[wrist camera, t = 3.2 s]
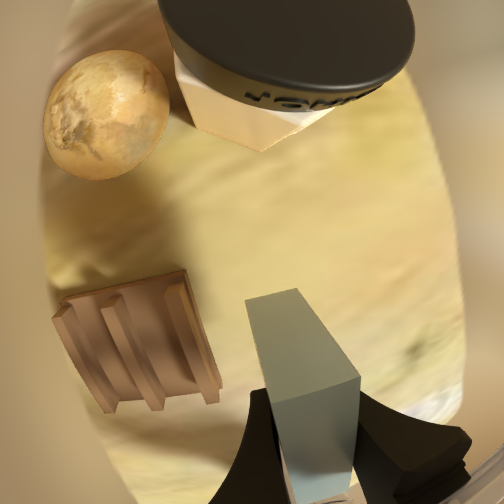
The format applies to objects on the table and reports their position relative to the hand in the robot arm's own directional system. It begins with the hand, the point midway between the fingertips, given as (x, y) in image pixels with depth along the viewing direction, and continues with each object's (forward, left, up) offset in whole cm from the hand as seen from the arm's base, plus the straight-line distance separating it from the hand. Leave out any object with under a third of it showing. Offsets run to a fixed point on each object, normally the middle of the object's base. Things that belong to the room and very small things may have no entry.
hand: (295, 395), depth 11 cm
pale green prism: (0, 0, -2) cm, 3 cm away
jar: (+15, -2, -10) cm, 18 cm away
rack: (-1, +10, -9) cm, 14 cm away
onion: (+15, +7, -10) cm, 19 cm away
